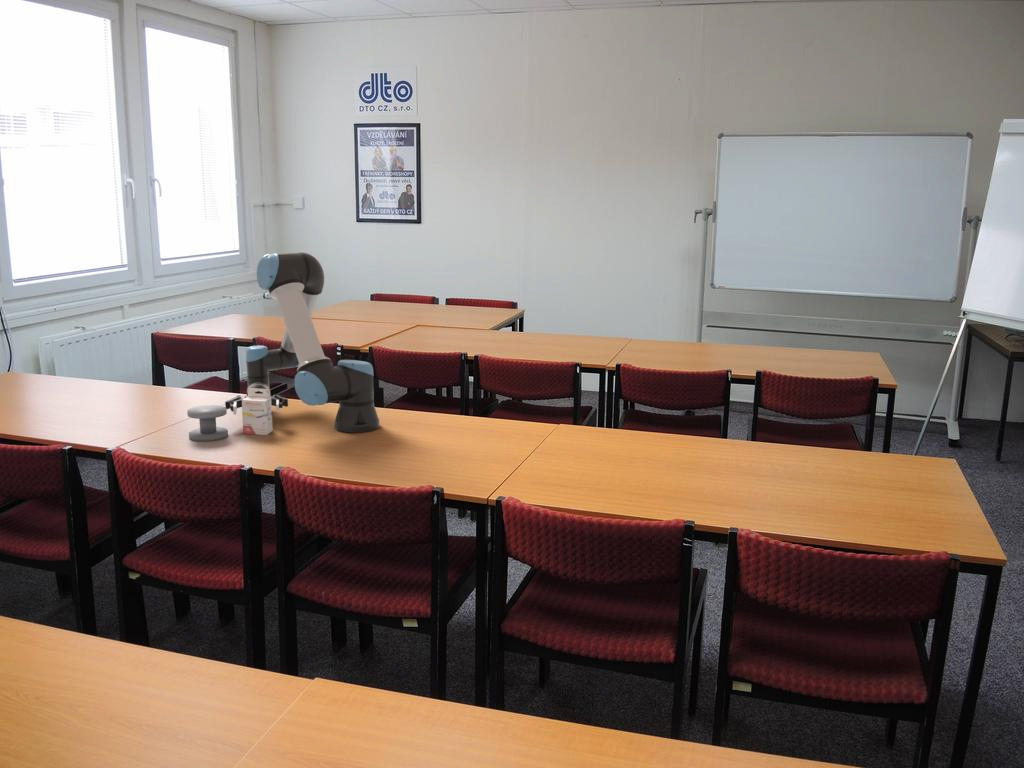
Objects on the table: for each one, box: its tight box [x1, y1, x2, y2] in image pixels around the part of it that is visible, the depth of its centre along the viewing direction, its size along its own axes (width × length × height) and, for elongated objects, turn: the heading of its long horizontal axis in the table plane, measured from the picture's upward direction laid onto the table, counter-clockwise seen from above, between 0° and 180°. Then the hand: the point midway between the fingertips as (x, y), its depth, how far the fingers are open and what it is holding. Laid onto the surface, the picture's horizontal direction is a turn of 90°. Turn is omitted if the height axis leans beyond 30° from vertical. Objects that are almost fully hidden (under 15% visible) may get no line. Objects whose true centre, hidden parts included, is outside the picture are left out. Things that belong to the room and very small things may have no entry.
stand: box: [186, 404, 229, 442], centre depth 271 cm, size 12×12×9 cm
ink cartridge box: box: [241, 387, 274, 436], centre depth 276 cm, size 9×5×15 cm, turn 83°
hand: (256, 409), depth 274 cm, fingers open, 13 cm apart
